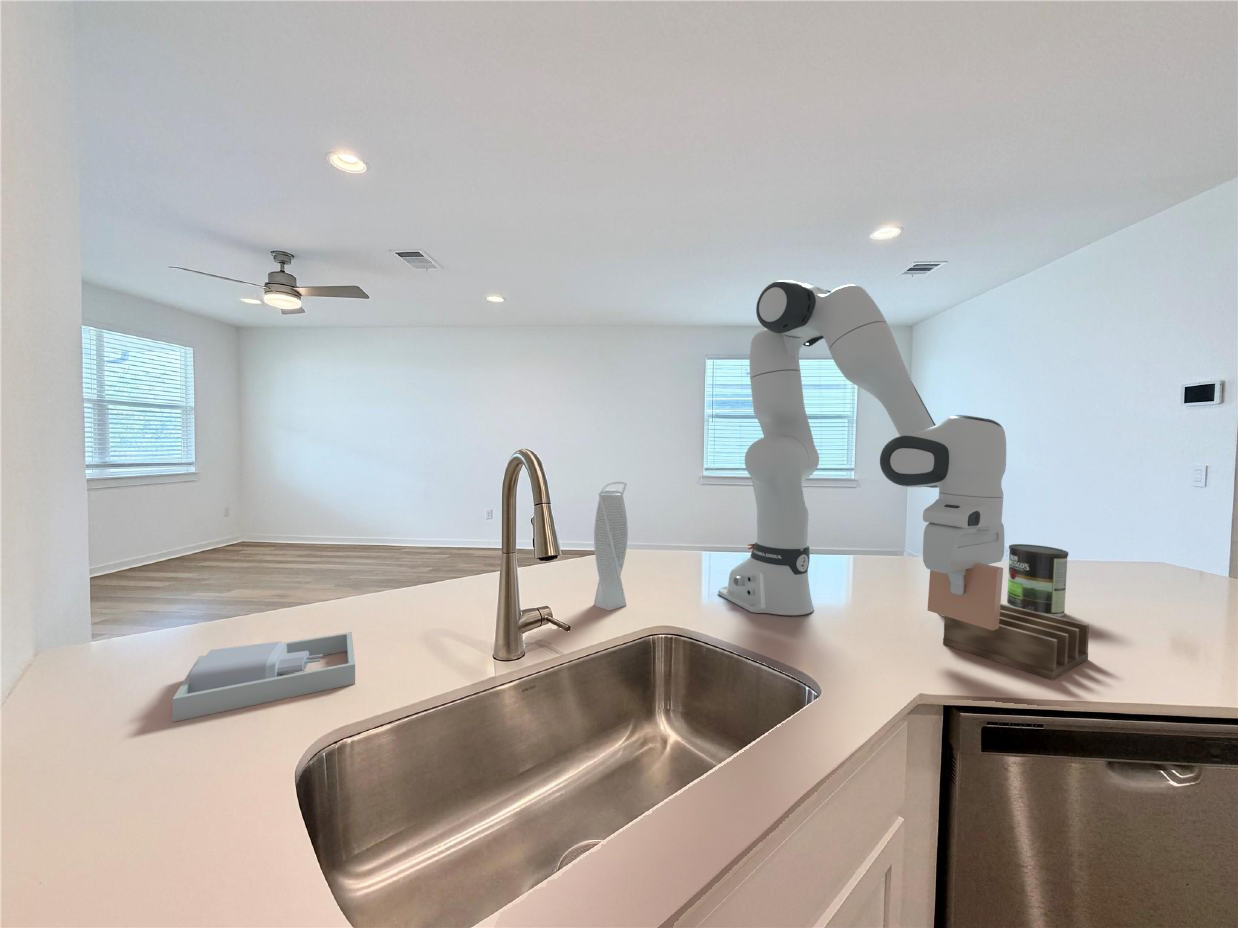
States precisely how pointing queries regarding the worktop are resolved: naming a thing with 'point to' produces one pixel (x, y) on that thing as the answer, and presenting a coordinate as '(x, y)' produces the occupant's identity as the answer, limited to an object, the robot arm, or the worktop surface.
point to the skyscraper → (610, 547)
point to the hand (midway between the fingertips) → (963, 592)
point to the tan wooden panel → (969, 596)
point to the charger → (246, 665)
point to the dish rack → (1024, 641)
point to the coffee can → (1037, 578)
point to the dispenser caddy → (271, 681)
